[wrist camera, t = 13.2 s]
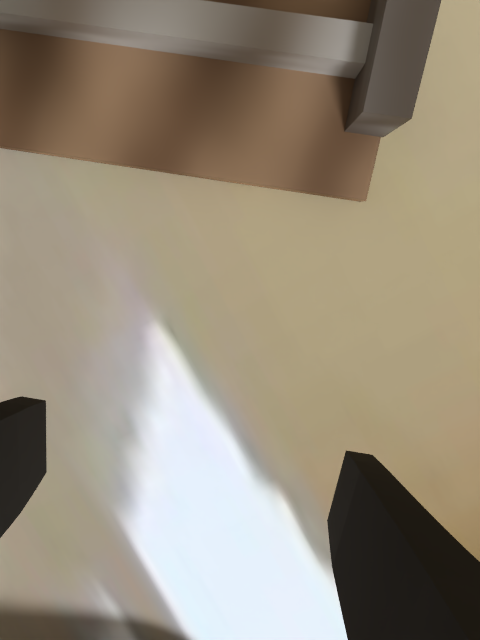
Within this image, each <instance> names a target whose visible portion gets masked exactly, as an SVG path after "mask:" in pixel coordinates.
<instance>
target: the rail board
mask: <svg viewBox="0 0 480 640" xmlns="http://www.w3.org/2000/svg"><path fill="white" fill-rule="evenodd" d="M440 3H441V0H0V148H5V149H11V150H18V151H25V152H32V153H38V154H45V155H52V156H58V157H65V158H72V159H78V160H85V161H92V162H99V163H105V164H112V165H119V166H125V167H132V168H139V169H146V170H152V171H159V172H166V173H172V174H179V175H186V176H192V177H199V178H206V179H213V180H219V181H226V182H233V183H239V184H246V185H253V186H259V187H266V188H273V189H280V190H286V191H293V192H300V193H306V194H313V195H320V196H327V197H333V198H340V199H347V200H353V201H366V198H367V194H368V190H369V185H370V181H371V177H372V173H373V168H374V164H375V160H376V155H377V151H378V147H379V142H380V138H381V137H384V136H386V135H387V134H389V133H390V132H392V131H393V130H395V129H396V128H398V127H399V126H401V125H403V124H404V123H406V122H407V121H409V120H410V119H412V115H413V111H414V107H415V103H416V99H417V95H418V91H419V87H420V83H421V79H422V75H423V71H424V67H425V63H426V59H427V55H428V51H429V47H430V43H431V39H432V35H433V31H434V27H435V23H436V19H437V15H438V11H439V7H440Z"/></svg>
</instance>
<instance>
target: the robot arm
mask: <svg viewBox="0 0 480 640" xmlns="http://www.w3.org/2000/svg"><path fill="white" fill-rule="evenodd" d="M45 474H46V401H45V400H39V399H33V398H27V397H17V398H14V399H10V400H7V401H4V402H0V538H1V536H2V535H3V534H4V533H5V532H6V530H7V529H8V528H9V527H10V525H11V524H12V523H13V522H14V520H15V519H16V518H17V517H18V515H19V514H20V513H21V511H22V510H23V508H24V507H25V505H26V504H27V502H28V501H29V499H30V498H31V496H32V495H33V493H34V491H35V490H36V488H37V487H38V485H39V483H40V482H41V480H42V478H43V477H44V475H45ZM327 521H328V532H329V542H330V552H331V560H332V568H333V573H334V578H335V583H336V587H337V592H338V597H339V601H340V606H341V611H342V615H343V620H344V624H345V629H346V633H347V638H348V640H480V562H479V561H478V560H477V559H476V558H475V557H474V556H473V555H472V554H471V553H469V552H468V551H467V550H466V549H465V548H464V547H463V546H462V545H461V544H460V543H459V542H458V541H457V540H456V539H455V538H454V537H453V536H452V535H451V534H450V533H449V532H448V531H447V530H446V529H445V528H444V527H443V526H442V525H441V524H440V523H439V522H438V521H437V520H436V519H435V518H434V517H433V516H432V515H431V514H430V513H429V512H428V511H427V510H426V509H425V508H424V507H423V506H422V505H421V504H420V503H419V502H418V501H417V500H416V499H415V498H414V497H413V496H412V495H411V494H410V493H409V492H408V491H407V490H406V488H405V487H404V486H403V485H402V484H401V483H400V482H399V481H398V480H397V479H396V478H395V477H394V476H393V475H392V474H391V473H390V472H389V471H388V470H387V469H386V468H385V467H384V466H383V465H382V464H381V463H380V462H379V461H378V460H377V459H376V458H375V457H374V456H373V455H370V454H364V453H358V452H352V451H346V453H345V457H344V460H343V464H342V468H341V471H340V475H339V479H338V483H337V486H336V490H335V494H334V498H333V501H332V505H331V509H330V513H329V516H328V520H327Z"/></svg>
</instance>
